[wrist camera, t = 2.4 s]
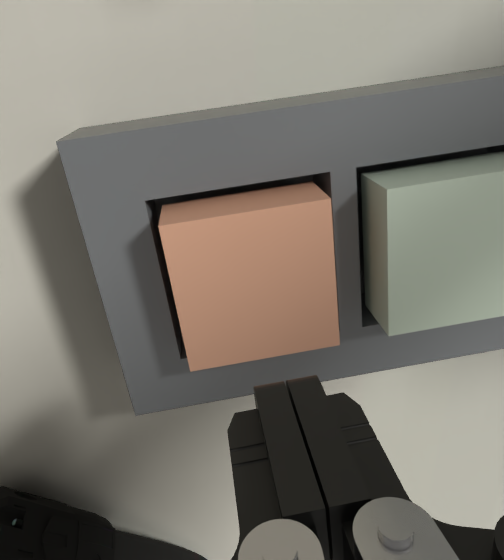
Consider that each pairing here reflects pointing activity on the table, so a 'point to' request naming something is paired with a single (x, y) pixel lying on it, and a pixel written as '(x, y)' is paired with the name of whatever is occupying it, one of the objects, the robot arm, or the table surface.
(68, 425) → the table surface
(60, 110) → the table surface
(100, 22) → the table surface
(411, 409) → the table surface
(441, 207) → the sage key
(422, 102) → the panel
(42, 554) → the virtual reality headset
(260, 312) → the terracotta key
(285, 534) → the robot arm
